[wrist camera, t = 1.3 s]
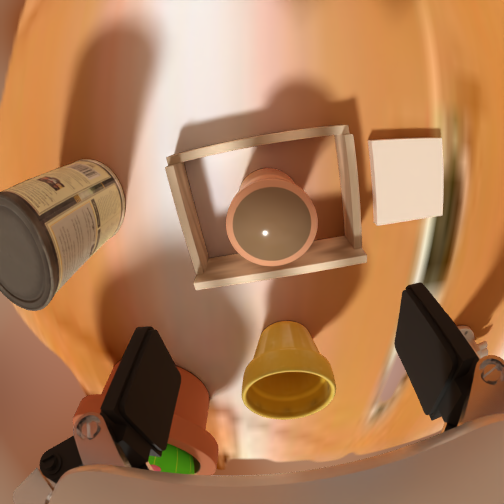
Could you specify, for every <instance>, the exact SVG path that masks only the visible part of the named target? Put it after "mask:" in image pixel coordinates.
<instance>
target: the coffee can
mask: <svg viewBox="0 0 504 504" xmlns="http://www.w3.org/2000/svg"><path fill="white" fill-rule="evenodd" d="M124 215H125V197H124V194H123V190H122V187H121V184H120V182H119V180H118V179H117V177H116V175H115V174H114V173H113V172H112V171H111V170H110V168H108V167H107V166H106V165H104V164H102V163H101V162H98V161H96V160H91V159H82V160H78V161H76V162H74V163H71V164H68V165H65V166H63V167H60V168H57V169H55V170H52V171H49V172H47V173H44V174H41V175H39V176H36V177H34V178H31V179H28V180H26V181H24V182H22V183H19V184H17V185H15V186H13V187H11V188H8V189H6V190H4V191H2V192H0V291H1V292H2V293H3V294H4V295H5V296H6V297H7V298H8V299H9V300H10V301H11V302H13V303H14V304H16V305H17V306H19V307H21V308H24V309H26V310H31V311H37V310H41V309H43V308H45V307H46V306H47V305H48V304H49V303H50V301H51V300H52V298H53V297H54V295H55V294H56V292H57V291H58V290H59V289H60V288H61V287H62V286H63V285H64V284H65V283H66V282H67V281H68V279H69V278H70V277H71V276H72V275H73V274H74V273H75V272H76V271H77V270H78V269H79V268H80V267H81V266H82V265H83V264H84V263H85V262H86V261H87V260H88V259H89V258H90V257H91V256H92V255H93V254H94V253H95V252H96V251H97V250H98V249H99V248H100V247H101V246H102V245H103V244H104V243H105V242H106V241H107V240H108V239H110V238H111V237H113V236H114V235H115V234H116V233H117V232H118V230H119V229H120V227H121V224H122V222H123V219H124Z"/></svg>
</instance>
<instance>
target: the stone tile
mask: <svg viewBox="0 0 504 504" xmlns="http://www.w3.org/2000/svg"><path fill="white" fill-rule="evenodd" d="M368 146H369V156H370V166H371V178H372V193H373V215H374V223H375V224H376V225H377V226H379V225H385V224H391V223H397V222H404V221H410V220H416V219H423V218H429V217H435V216H442V214H443V148H442V138H438V137H421V138H393V139H376V140H368Z"/></svg>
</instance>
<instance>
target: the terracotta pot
mask: <svg viewBox="0 0 504 504" xmlns="http://www.w3.org/2000/svg"><path fill="white" fill-rule="evenodd" d="M317 227H318V218H317V212H316V209H315V207H314V205H313V203H312V201H311V199H310V198H309V196H308V195H307V194H306V193H305V192H304V190H303V189H301V188H300V187H299V186H297V185H296V184H295V183H294V181H293V180H292V179H291V178H290V177H289V176H288V175H287V174H286V173H284V172H282V171H280V170H277V169H273V168H263V169H259V170H256V171H254V172H252V173H251V174H250V175H248V176H247V177H246V178H245V179H244V181H243V182H242V184H241V186H240V189H239V192H238V193H237V194H236V196H235V197H234V198H233V200H232V202H231V204H230V206H229V209H228V213H227V217H226V230H227V235H228V238H229V240H230V242H231V244H232V246H233V247H234V249H235V250H236V251H237V252H238V253H239V254H240V255H241V256H242V257H244V258H245V259H247V260H249V261H250V262H253V263H255V264H259V265H263V266H280V265H284V264H287V263H290V262H292V261H294V260H296V259H297V258H299V257H300V256H302V255H303V254H304V253H305V252H306V251H307V250H308V249H309V247H310V246H311V244H312V243H313V241H314V239H315V236H316V232H317Z"/></svg>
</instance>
